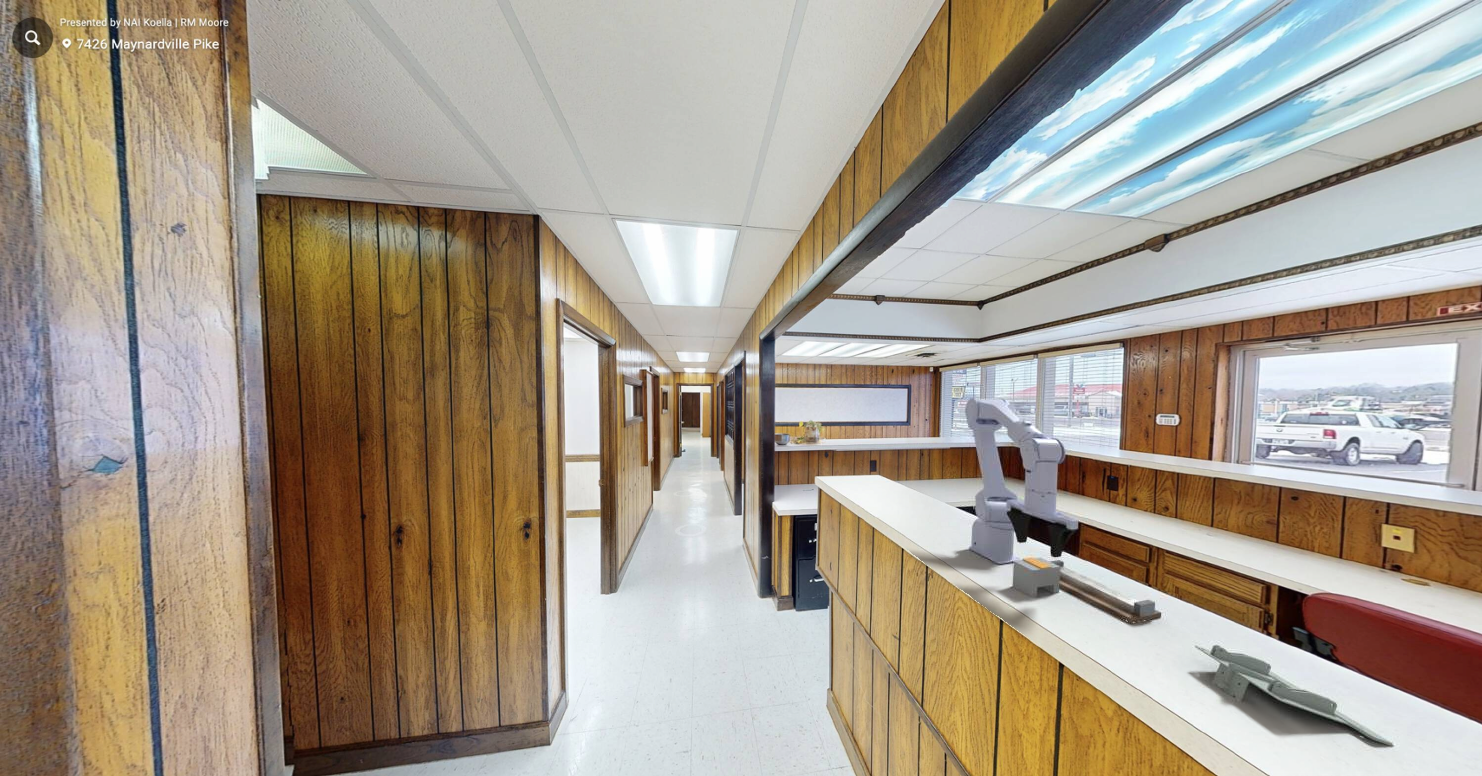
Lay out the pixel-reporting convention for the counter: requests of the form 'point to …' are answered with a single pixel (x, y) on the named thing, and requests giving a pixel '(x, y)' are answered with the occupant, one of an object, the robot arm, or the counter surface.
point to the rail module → (1035, 575)
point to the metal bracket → (1274, 687)
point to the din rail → (1107, 592)
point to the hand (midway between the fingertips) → (1038, 549)
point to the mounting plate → (1104, 603)
